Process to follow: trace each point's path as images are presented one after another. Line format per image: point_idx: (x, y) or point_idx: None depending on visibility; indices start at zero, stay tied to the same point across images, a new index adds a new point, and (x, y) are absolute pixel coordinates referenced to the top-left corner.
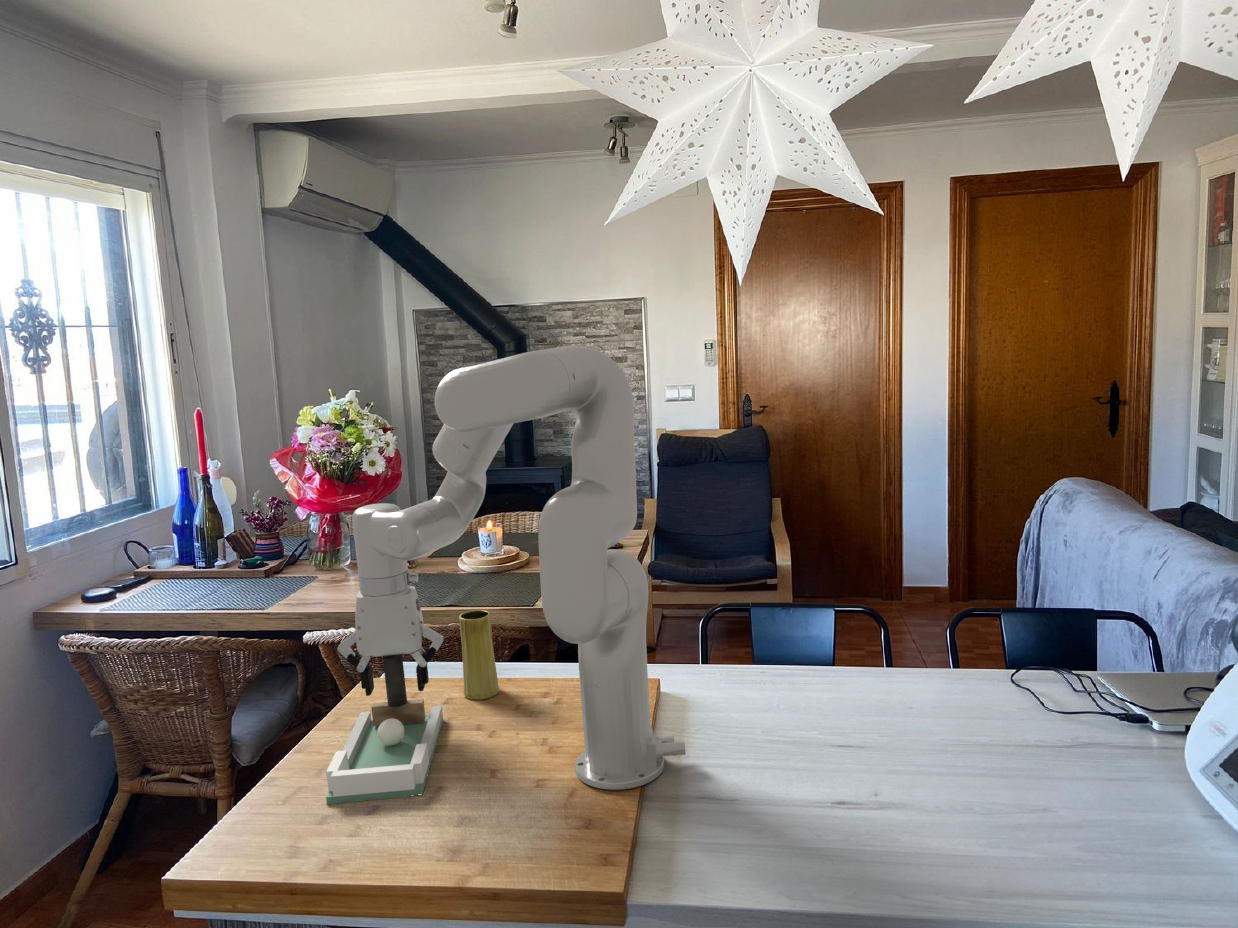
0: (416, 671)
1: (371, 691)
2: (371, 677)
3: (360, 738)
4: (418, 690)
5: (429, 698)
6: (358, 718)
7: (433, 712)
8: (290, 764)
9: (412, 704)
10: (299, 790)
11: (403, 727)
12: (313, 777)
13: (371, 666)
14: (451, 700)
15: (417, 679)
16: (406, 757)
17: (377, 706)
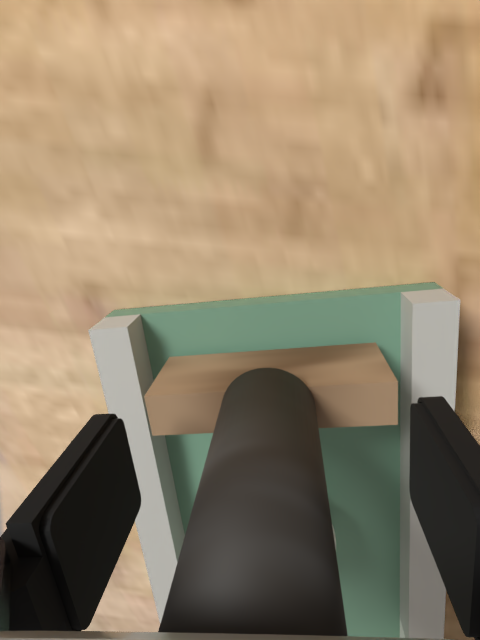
0: (459, 619)
1: (134, 486)
2: (96, 503)
3: (169, 493)
4: (410, 493)
5: (331, 21)
6: (105, 388)
7: (426, 372)
8: (8, 519)
9: (346, 425)
10: (104, 631)
11: (335, 548)
12: (108, 586)
13: (52, 530)
14: (456, 59)
15: (436, 556)
16: (354, 582)
17: (179, 431)
